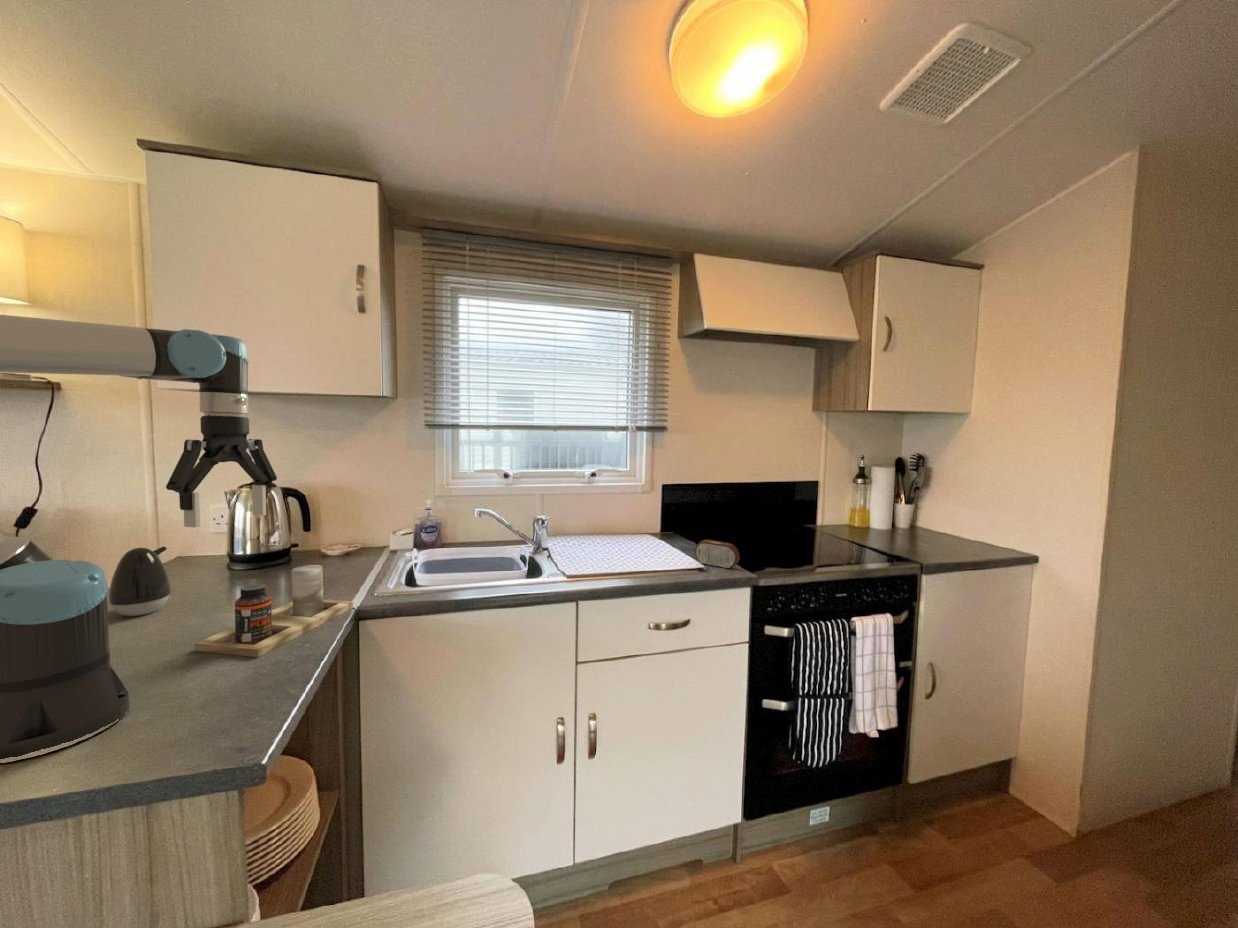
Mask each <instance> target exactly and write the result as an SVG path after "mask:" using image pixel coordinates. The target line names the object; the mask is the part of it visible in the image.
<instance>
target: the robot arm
mask: <svg viewBox="0 0 1238 928" xmlns="http://www.w3.org/2000/svg"><path fill="white" fill-rule="evenodd" d="M248 368H249V357H248V349H247V344H246V342H245V341H244V340H243V339H241V338H237V337H234V336H229V335H219V334H213V333H212V334H210V333H208V332H206V331H204V330H198V329H186V328H185V329H182V330H170V329H169V330H168V329H162V328H161V329H160V328H146V327H145V328H144V327H138V326H127V325H116V324H106V323H94V322H83V321H72V320H63V319H62V320H61V319H51V318H40V317H30V316H19V315H11V314H9V315H7V314H0V373H4V374H5V373H7V374H9V373H12V374H47V375H49V374H50V375H83V376H84V375H89V376H93V375H94V376H95V375H96V376H120V377H123V378H124V377H125V378H131V379H132V378H134V379H136V380H143V379H144V380H153V381H154V380H155V381H165V382H166V381H167V382H168V381H169V382H183V383H193V384H194V383H196V384H197V383H198V386H199V389H198V390H199V391H198V392H199V412H200V413H203V415H201V417H200V418H199V419H200V433H201V434H202V437H203V438H202V440H200V439H185V441H184V442H183V443H184V444H183V452H182V453H181V455H180V457H179V459H178V461H177V463H176V465H175V467H174V469H173V472H172V473H171V476H170V478H169V480H168V482H167V483H166V484H165V485H166V486H165V488H166V490H167V491H174V493H178V496H179V497H178V498H179V509H180V511H183V527H185V528H200V527H201V514H200V511H201V510H200V492H197V491H196V492H195V490H197V488H198V487H199V485H200V484H201V483H202V482H203V480H204V479H205V478H206V476H208V474H209V473H210V472H211V471H212V469H213V468H214V467H215V466H216V465H218V464H220V463H228V462H233V463H237V464H238V465H239V466H240V467H241V468H242V470H243V471H244V472H245V473H246V474H247V475H248V476H249V477H250V479H251V480H252V481H253V482H254V483H255V484H252V485H251V503H252V506H251V507H252V508H251V509H252V510H251V511H252V516H261V517H263V516H267V500H268V499H269V486H271V485H273V482H276V481H277V479H278V477H277V474H276V473H275V470H274V469H273V466H272V464H271V462H270V460H269V458H268V456H267V454H266V453H265V450H264V445H263V440H262V439H261V438H260V439H259V438H258V439H257V438H248V437H247V436H248V435H249V434H250V419H249V418H248V417H247V416H246V415H248V414H249V413H250V409H249V408H250V407H249V406H250V405H249V386H248V385H249V381H248V379H249V377H248V376H249V375H248V374H249V371H248V370H249V369H248ZM247 450H248V452H249V453H248V452H247ZM202 451H204V452H203V454H201V452H202ZM200 455H201V456H200ZM197 461H198V462H197ZM108 593H109V584H108V581H107V579H106V574H105V571H104V570H103V568H102V567H101V566H100V565H98V564H96V563H94V562H92V561H86V560H79V559H77V560H71V559H52V558H51V557H50V556H49V555H48V554H47V553H45V551H43V550H42V549H41V548H40V547H39V546H38V545H36V543H34V542H32V541H31V540H30V539H29V538H28V537H24V536H6V535H4V534H2V533H1V532H0V759H5V758H9V757H18V756H22V755H25V754H28V753H31V752H35V751H39V750H41V749H46V748H50V747H54V746H57V745H60V744H62V743H66V742H70V741H73V740H75V739H78V738H81V737H83V736H85V735H87V734H91V733H93V732H95V731H97V730H99V729H100V728H102V727H105V726H107V725H109V724H111V723H113V722H115V721H116V720H117V719H120V718H122V717H123V716H124V715H125V713H126V712H127V711H128V710H130V696H129V695H130V694H129V692H128V690H127V688H126V686H125V685H124V683H123V682H122V680H121V678H120V677H119V675H118V673H117V671H116V670H115V668H114V666H113V665H112V663H111V654H110V652H111V651H110V633H109V631H110V630H109V612H108ZM128 712H129V711H128ZM128 712H127V713H128ZM125 716H126V715H125ZM125 716H124V717H125ZM124 717H123V718H124ZM123 718H122V719H123Z"/></svg>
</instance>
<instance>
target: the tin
mask: <svg viewBox="0 0 1238 928" xmlns="http://www.w3.org/2000/svg"><path fill="white" fill-rule="evenodd" d="M694 555H695V558H696V560H697V561H698V562H699V561H701V562H704V563H707V564H711V565H716V566H727V567H732V568H734V567H735V566H737V565H738V563H739V562H740V557H741V556H740V552H739V550H738V548H737V547H736V546H735V545H734V544H732V543H729V542H724V541H720V540H719V541H718V540H712V539H704V540H701V541H700V542H698V543H697V545H696V546H695V547H694Z"/></svg>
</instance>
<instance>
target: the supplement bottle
mask: <svg viewBox="0 0 1238 928" xmlns="http://www.w3.org/2000/svg"><path fill="white" fill-rule="evenodd" d="M271 611H272V597H271V595H270V594H267V593H266V584H264V583H263V584H262V583H254V584H248V585H244V586H242V587H240V596H239V598H237V599H236V600H235V601H234V626H235V639H234V640H235V643H238V644H248V645H255V644H257V643H259V642H261V641H263V640H265V639H267V638H269V637H271V636H273V631H272V613H271Z"/></svg>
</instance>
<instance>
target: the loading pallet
mask: <svg viewBox="0 0 1238 928" xmlns="http://www.w3.org/2000/svg"><path fill="white" fill-rule="evenodd" d="M323 574H324V571H323V565H319V564H308V565H307V564H306V565H302V566H298V567H295V568H292V569H291V595H292V597H291V599H292V601H290V602H289V603H287V604H284V605H282V606H279V607H277V608H275V609H271V613H272V633H275V632H276V634H274V635H273V634H272V636H271V637H269V638H267V639H265V640H263V641H261V642H259V643H257V644H255V645H248V644H238V643H236V642H231V641H233V640H236V639H235V625H234V626H233V627H230V628H227V629H225V630H222V631H220V632H218V633H216V634H214V635H212V636H209V637H207V638H204V639H202V640H200V641H197V642H195V643H194V651H195V652H201V653H202V652H205V653H215V654H222V655H223V654H224V655H234V656H241V657H243V656H244V657H252V658H260V657H262V656H264V655H265V654H267V652H268V653H269V652H271V651H274V650H275V649H277V648H279V647H280V646H283V645H285V644H286V643H288V642H291V641H292V640H295V639H296V638H298V637H300V636H301V635H305V634H306V633H308V632H309V631H311V630H313V629H315V628H317V627H319V626H321V625H323V624H325V623H327V622H329V621H331V620H333V619H335V618H336V617H337V618H338V616H340V615H343V614H344V613H347V612H348V611H350V610H352V609H353V608H354V601H348V600H338V599H337V600H335V599H324V581H323V580H324V579H323V577H324V575H323ZM324 609H325V610H324ZM291 614H292V615H291Z"/></svg>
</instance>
